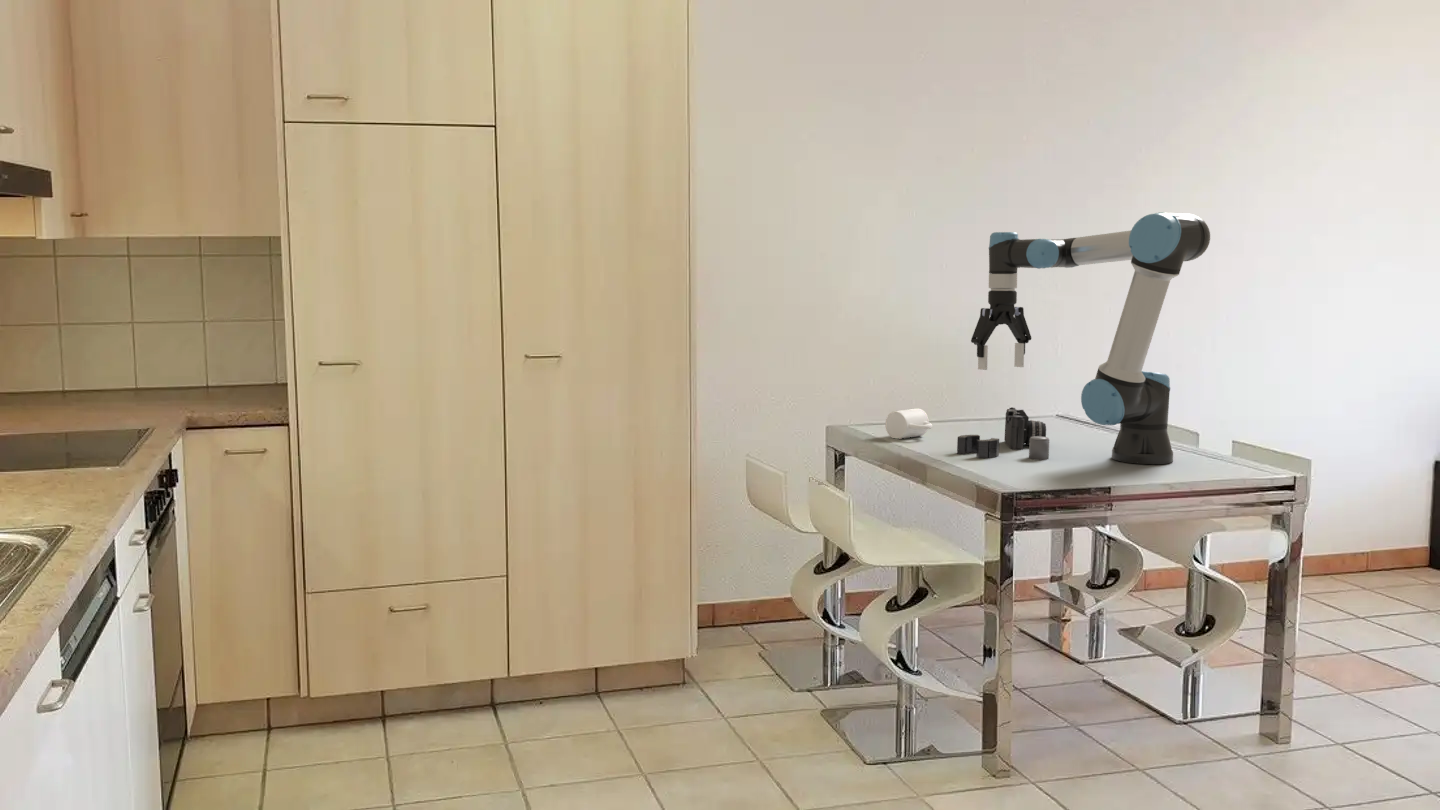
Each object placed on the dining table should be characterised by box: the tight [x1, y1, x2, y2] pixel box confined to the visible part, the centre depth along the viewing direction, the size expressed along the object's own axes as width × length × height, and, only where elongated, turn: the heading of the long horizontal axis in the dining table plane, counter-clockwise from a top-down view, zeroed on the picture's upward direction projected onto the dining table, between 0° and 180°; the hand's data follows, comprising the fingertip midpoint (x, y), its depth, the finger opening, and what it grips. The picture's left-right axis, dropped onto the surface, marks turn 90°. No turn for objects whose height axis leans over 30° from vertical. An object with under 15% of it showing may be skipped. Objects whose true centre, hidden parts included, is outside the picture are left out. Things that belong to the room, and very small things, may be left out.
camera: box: [1004, 407, 1047, 451], centre depth 364 cm, size 14×11×10 cm
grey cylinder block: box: [1028, 436, 1050, 461], centre depth 344 cm, size 5×5×5 cm
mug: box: [884, 408, 933, 440], centre depth 375 cm, size 12×10×8 cm
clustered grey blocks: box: [956, 434, 1000, 459], centre depth 349 cm, size 11×7×4 cm
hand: (1000, 368), depth 360 cm, fingers open, 13 cm apart
